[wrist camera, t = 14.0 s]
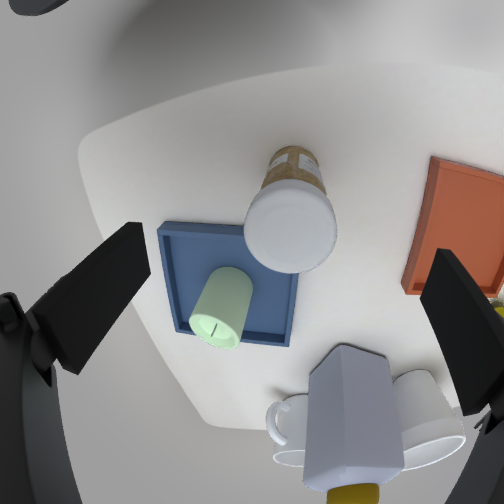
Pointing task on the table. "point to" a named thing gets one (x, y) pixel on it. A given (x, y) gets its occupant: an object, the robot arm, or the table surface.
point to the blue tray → (224, 255)
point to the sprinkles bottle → (291, 215)
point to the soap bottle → (352, 427)
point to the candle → (222, 308)
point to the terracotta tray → (460, 225)
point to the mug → (289, 430)
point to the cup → (425, 420)
